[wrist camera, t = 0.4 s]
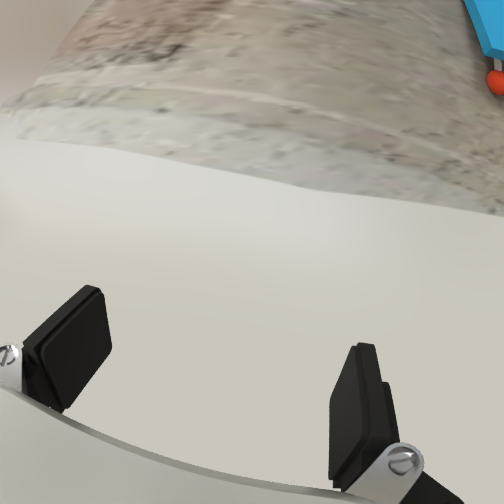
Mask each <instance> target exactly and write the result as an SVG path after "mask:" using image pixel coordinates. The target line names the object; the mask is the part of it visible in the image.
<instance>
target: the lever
mask: <svg viewBox="0 0 504 504" xmlns="http://www.w3.org/2000/svg"><path fill="white" fill-rule="evenodd" d="M464 2H465V5H466V7H467V10H468V12H469V15H470V17H471V20H472V22H473V25H474V28H475V30H476V33H477V36H478V39H479V42H480V45H481V48H482V51H483V55H484V56H488V57H492V58H494V70H492V71H491V72H489V74H488V76H487V84H488V87H489V88H490V90H491V91H492V92H494V93H495V94H498V95H504V73H503V72H502V64H501V60H503V61H504V0H464Z"/></svg>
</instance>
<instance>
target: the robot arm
mask: <svg viewBox="0 0 504 504" xmlns="http://www.w3.org/2000/svg"><path fill="white" fill-rule="evenodd" d="M23 345H24V347H23V348H22V349H21V348H20V346H18V345H17V344H14V343H4V344H1V345H0V504H464V502H463V501H462V500H461V499H460V498H459V497H457V496H456V495H454V494H453V493H452V492H450V491H449V490H448V489H446V488H445V487H444V486H442V485H441V484H439V483H438V482H437V481H435V480H434V479H433V478H431V477H430V476H429V475H428V474H426V473H425V472H424V471H423V468H424V459H423V456H422V454H421V453H420V451H419V450H418V449H417V448H416V447H414V446H412V445H410V444H408V443H403V442H402V443H400V439H399V433H398V426H397V421H396V415H395V410H394V405H393V399H392V394H391V390H390V386H389V383H388V382H382V379H381V374H380V369H379V364H378V359H377V354H376V349H375V346H374V344H368V343H360V342H359V343H358V344H357V346H352V347H351V349H350V351H349V354H348V356H347V359H346V361H345V364H344V366H343V369H342V371H341V374H340V376H339V379H338V381H337V383H336V385H335V388H334V390H333V392H332V395H331V398H330V406H329V408H330V410H329V411H330V415H329V418H330V419H329V423H330V425H329V471H328V478H329V480H333V488H341V492H338V491H333V490H326V489H318V488H311V487H303V486H295V485H288V484H281V483H274V482H269V481H263V480H257V479H252V478H246V477H241V476H236V475H231V474H227V473H223V472H218V471H214V470H210V469H206V468H202V467H199V466H195V465H191V464H188V463H184V462H181V461H178V460H174V459H171V458H168V457H164V456H162V455H158V454H155V453H153V452H149V451H147V450H144V449H141V448H138V447H136V446H133V445H130V444H127V443H125V442H122V441H120V440H118V439H115V438H113V437H110V436H108V435H105V434H103V433H101V432H98V431H96V430H94V429H91V428H89V427H87V426H85V425H83V424H81V423H79V422H77V421H74V420H72V419H70V418H68V417H66V416H64V415H62V413H63V411H64V410H65V409H68V408H69V407H70V406H71V405H72V404H73V402H74V401H75V399H76V398H77V397H78V395H79V394H80V393H81V391H82V390H83V388H84V387H85V386H86V384H87V383H88V382H89V380H90V379H91V378H92V376H93V375H94V374H95V372H96V371H97V370H98V368H99V367H100V366H101V365H102V363H103V362H104V360H105V359H106V358H107V357H108V355H109V354H110V352H111V349H112V342H111V336H110V331H109V325H108V318H107V312H106V305H105V298H104V294H103V293H102V292H101V290H100V289H99V288H97V287H94V286H90V285H85V286H84V287H83V288H82V289H80V290H79V291H78V292H77V293H76V294H75V295H74V296H72V297H71V298H70V299H69V300H68V301H67V302H65V303H64V304H63V305H62V306H61V307H60V308H59V309H58V310H57V311H56V312H54V313H53V314H52V315H51V316H50V317H49V318H48V319H47V320H46V321H45V322H44V323H43V324H41V325H40V326H39V327H38V328H37V329H36V330H35V331H34V332H33V333H32V334H31V335H30V336H29V337H28V338H27V339H26V340H25V341H23ZM49 407H51V408H49Z"/></svg>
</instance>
